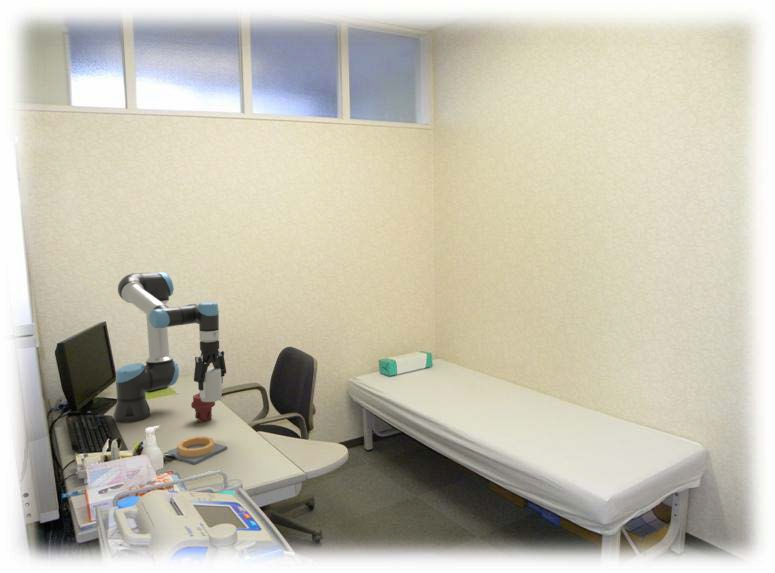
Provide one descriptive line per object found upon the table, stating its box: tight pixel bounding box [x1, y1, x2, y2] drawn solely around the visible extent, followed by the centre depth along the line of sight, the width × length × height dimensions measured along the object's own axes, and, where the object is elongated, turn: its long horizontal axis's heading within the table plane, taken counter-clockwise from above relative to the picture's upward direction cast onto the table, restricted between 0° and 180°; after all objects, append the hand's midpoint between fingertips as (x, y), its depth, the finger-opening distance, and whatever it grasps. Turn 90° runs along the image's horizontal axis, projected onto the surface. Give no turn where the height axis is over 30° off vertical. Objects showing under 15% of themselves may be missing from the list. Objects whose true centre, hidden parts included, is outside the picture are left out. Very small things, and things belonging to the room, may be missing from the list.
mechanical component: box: [190, 392, 216, 423], centre depth 242 cm, size 12×10×10 cm
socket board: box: [164, 436, 228, 465], centre depth 208 cm, size 16×16×4 cm
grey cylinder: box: [201, 367, 223, 402], centre depth 223 cm, size 8×8×12 cm
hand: (211, 394), depth 223 cm, fingers closed on grey cylinder, 8 cm apart
